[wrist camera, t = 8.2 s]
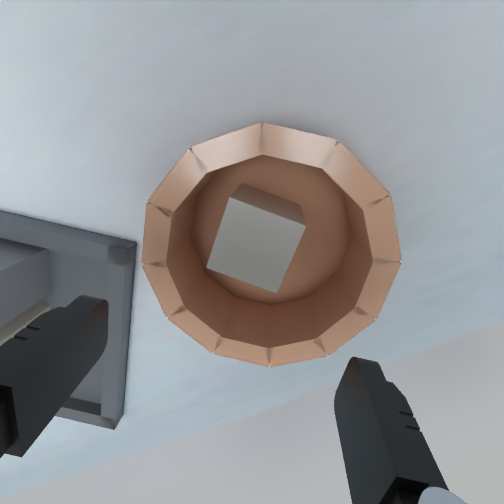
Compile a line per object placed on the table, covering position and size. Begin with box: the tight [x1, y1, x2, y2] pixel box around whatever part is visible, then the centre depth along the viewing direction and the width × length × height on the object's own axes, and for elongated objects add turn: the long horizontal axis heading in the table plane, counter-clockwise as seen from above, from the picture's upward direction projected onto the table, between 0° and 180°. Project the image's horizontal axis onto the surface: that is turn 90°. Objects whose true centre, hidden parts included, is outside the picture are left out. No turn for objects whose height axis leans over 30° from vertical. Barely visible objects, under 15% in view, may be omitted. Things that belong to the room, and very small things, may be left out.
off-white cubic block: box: [0, 302, 51, 346], centre depth 21 cm, size 4×4×4 cm
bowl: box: [141, 122, 401, 367], centre depth 17 cm, size 12×12×5 cm
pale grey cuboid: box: [206, 183, 306, 293], centre depth 16 cm, size 4×4×4 cm
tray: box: [0, 211, 136, 430], centre depth 22 cm, size 16×15×1 cm
